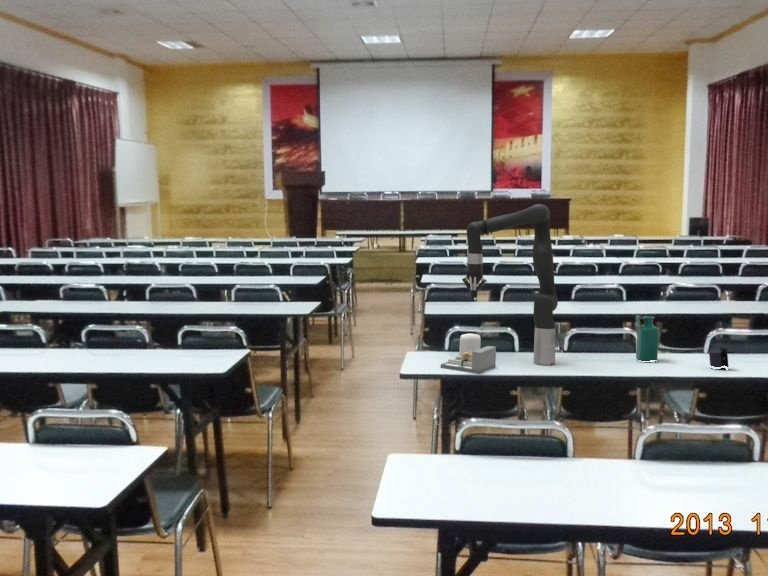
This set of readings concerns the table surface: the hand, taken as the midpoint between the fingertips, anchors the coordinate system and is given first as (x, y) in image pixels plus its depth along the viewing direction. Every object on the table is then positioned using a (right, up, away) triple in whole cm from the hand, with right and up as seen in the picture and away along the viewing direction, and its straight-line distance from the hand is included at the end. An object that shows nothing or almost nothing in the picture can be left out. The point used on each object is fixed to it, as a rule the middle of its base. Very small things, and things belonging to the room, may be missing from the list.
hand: (474, 297), depth 348 cm
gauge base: (-5, -32, -22) cm, 39 cm away
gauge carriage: (-6, -30, -25) cm, 39 cm away
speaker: (+110, -33, -21) cm, 117 cm away
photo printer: (-3, -30, -3) cm, 30 cm away
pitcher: (+83, -31, -4) cm, 88 cm away
